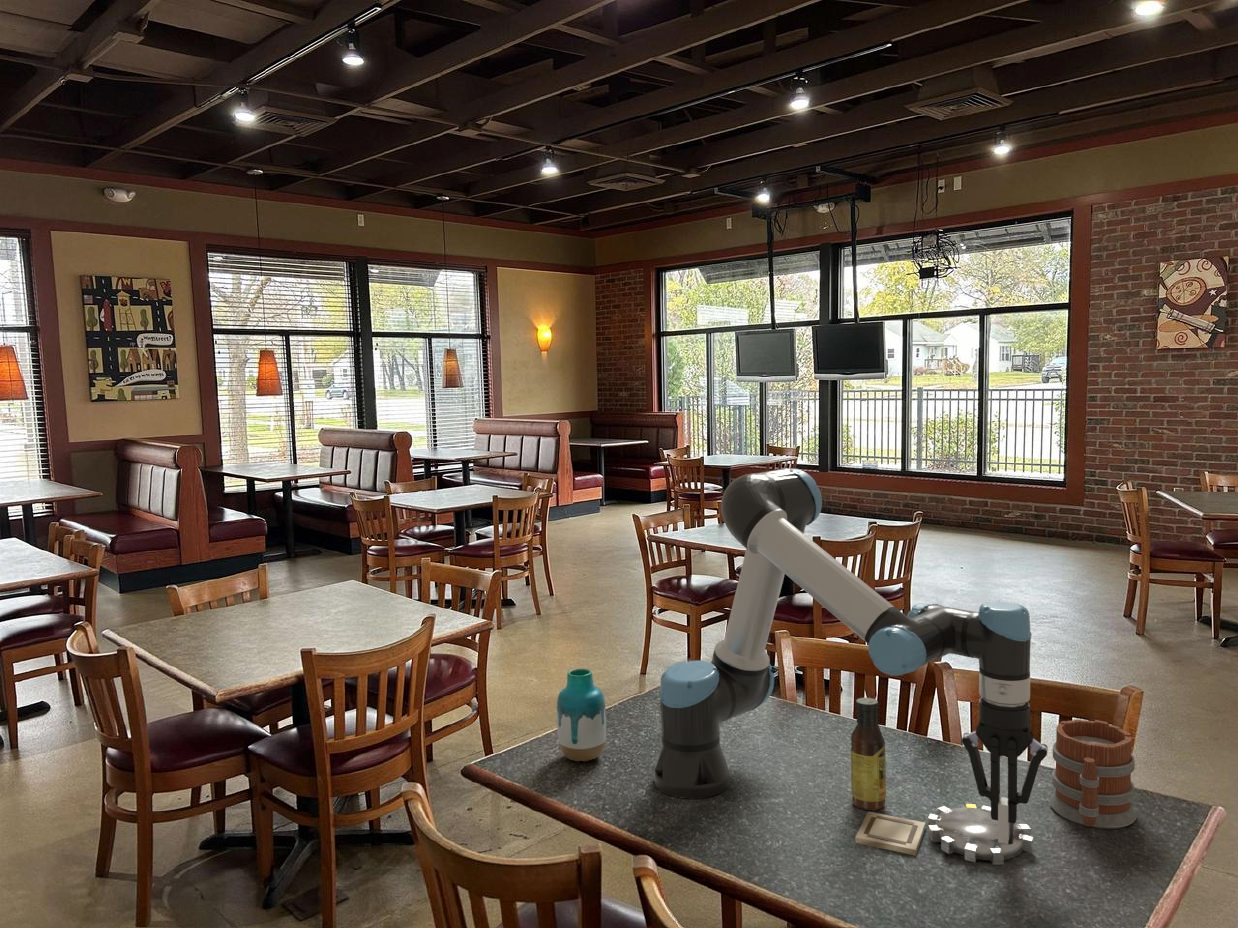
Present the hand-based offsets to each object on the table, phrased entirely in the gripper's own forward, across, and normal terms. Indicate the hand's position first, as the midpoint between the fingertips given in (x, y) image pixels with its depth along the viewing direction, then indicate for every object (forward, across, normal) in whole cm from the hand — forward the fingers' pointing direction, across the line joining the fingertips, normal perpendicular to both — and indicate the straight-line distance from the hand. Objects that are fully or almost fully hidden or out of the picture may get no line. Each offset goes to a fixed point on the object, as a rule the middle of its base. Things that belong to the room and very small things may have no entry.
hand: (1003, 839), depth 144 cm
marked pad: (+4, -18, +2) cm, 19 cm away
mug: (+4, +13, +23) cm, 26 cm away
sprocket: (+4, -4, +6) cm, 8 cm away
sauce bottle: (+4, -24, +12) cm, 27 cm away
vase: (+4, -84, +8) cm, 85 cm away
